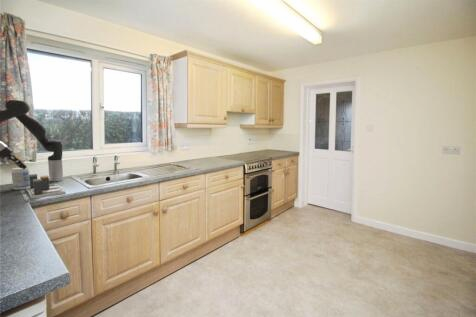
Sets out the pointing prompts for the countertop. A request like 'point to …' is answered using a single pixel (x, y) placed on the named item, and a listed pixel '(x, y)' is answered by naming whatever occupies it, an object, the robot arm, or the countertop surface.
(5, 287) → the countertop surface
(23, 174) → the supplement tub
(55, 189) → the grey base plate
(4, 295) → the countertop surface
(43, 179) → the breaker
